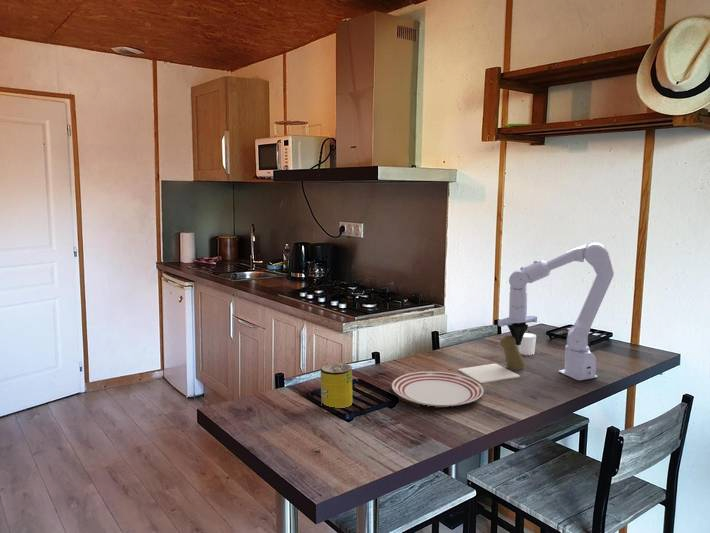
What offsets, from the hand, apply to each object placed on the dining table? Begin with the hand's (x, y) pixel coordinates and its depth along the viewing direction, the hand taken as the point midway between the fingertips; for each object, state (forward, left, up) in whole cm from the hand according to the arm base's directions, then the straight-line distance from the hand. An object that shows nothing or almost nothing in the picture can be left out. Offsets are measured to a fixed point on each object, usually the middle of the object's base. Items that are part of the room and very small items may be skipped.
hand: (517, 344), depth 188 cm
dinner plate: (-11, +37, -9) cm, 40 cm away
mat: (-1, +12, -8) cm, 15 cm away
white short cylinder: (+13, -14, -9) cm, 21 cm away
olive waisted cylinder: (0, 0, -8) cm, 8 cm away
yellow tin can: (-8, +68, -9) cm, 69 cm away
